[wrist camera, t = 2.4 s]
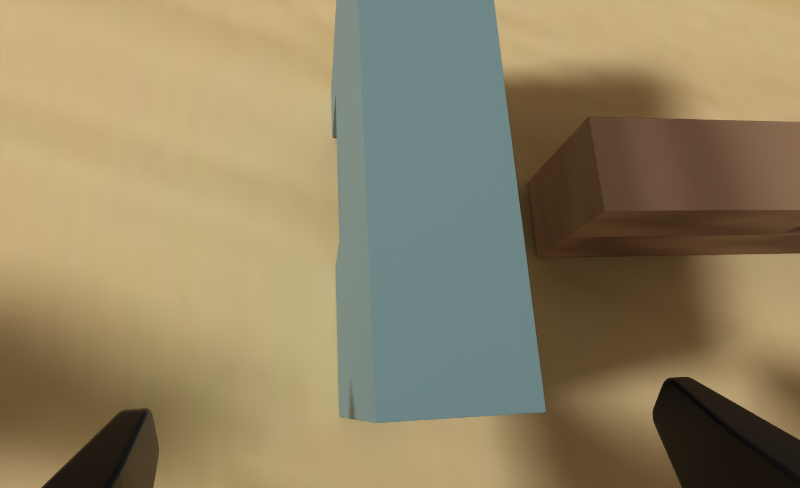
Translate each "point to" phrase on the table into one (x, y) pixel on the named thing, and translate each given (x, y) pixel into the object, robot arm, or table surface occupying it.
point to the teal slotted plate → (428, 217)
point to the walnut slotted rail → (670, 189)
